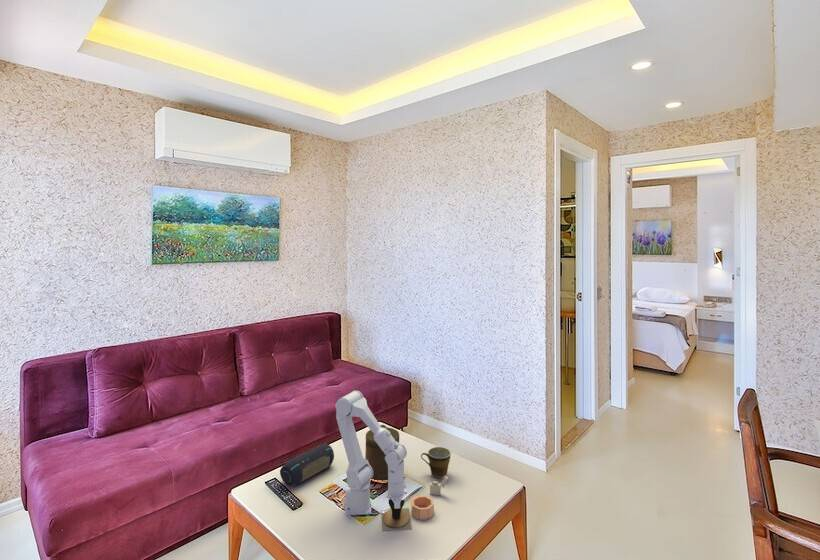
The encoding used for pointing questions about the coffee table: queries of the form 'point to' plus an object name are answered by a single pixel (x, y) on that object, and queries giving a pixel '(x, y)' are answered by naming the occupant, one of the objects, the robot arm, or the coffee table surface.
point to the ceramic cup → (438, 461)
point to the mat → (406, 527)
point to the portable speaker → (307, 464)
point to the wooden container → (378, 454)
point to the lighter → (437, 486)
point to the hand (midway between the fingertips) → (396, 515)
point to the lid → (395, 523)
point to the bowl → (422, 507)
